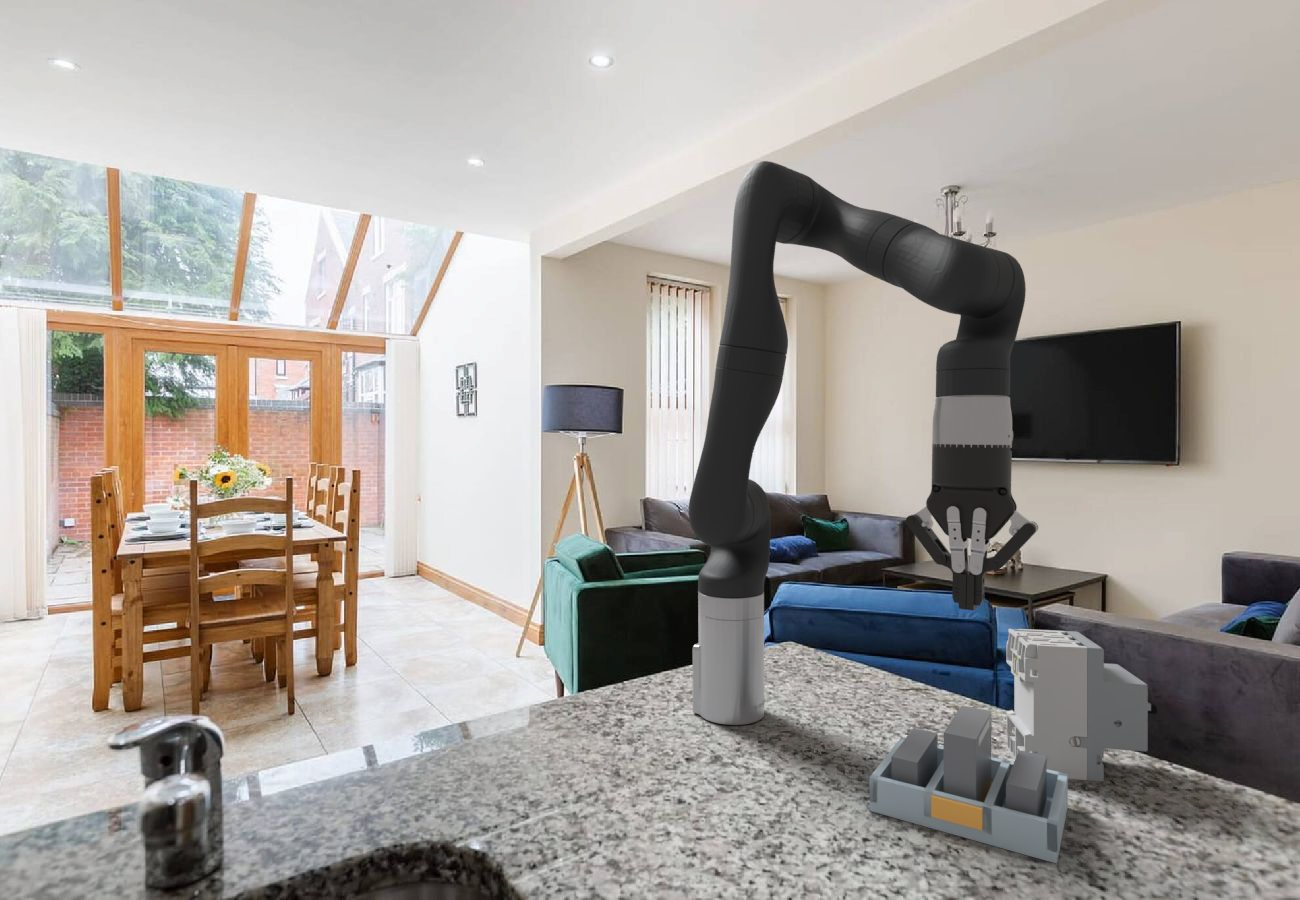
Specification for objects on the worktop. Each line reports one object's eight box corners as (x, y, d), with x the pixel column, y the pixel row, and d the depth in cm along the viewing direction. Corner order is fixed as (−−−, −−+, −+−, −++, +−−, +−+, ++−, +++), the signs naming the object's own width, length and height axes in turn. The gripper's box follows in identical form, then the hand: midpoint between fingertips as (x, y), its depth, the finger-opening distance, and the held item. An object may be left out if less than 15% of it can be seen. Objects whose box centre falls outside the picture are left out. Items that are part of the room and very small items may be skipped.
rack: (868, 811, 75) (868, 759, 75) (901, 766, 85) (901, 720, 85) (1056, 865, 65) (1056, 804, 65) (1067, 807, 75) (1067, 754, 75)
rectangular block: (943, 812, 72) (943, 732, 72) (961, 777, 80) (961, 705, 80) (976, 820, 71) (976, 739, 71) (991, 784, 78) (991, 710, 78)
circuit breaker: (1164, 786, 80) (1164, 651, 80) (1024, 775, 83) (1025, 644, 83) (1133, 757, 87) (1133, 633, 87) (1006, 748, 90) (1006, 628, 90)
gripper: (895, 440, 75) (893, 606, 75) (1039, 442, 68) (1035, 626, 68) (914, 440, 81) (912, 594, 82) (1048, 442, 74) (1044, 610, 74)
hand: (968, 608), depth 75 cm, fingers closed
